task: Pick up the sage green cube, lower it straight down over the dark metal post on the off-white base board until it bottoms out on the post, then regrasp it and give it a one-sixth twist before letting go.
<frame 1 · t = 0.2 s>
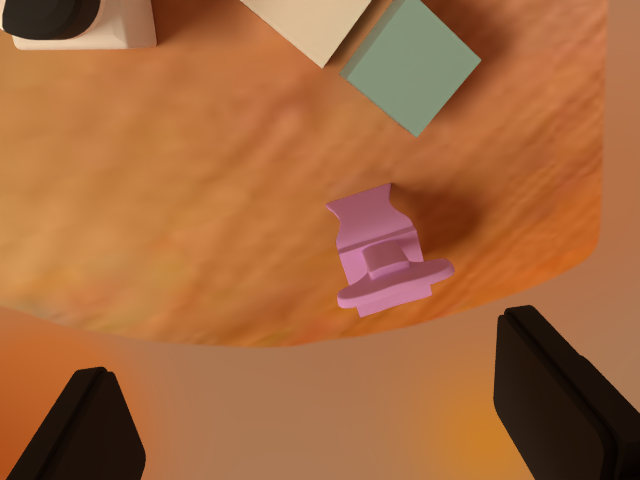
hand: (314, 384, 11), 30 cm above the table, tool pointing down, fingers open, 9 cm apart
toy chair: (369, 233, 43), on the table
sage green cube: (398, 65, 37), on the table
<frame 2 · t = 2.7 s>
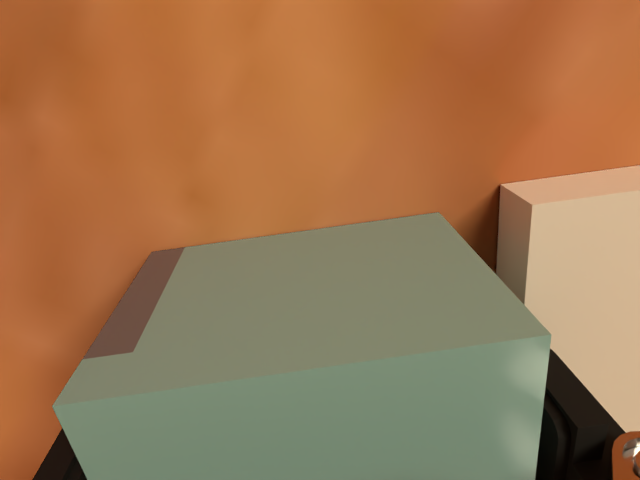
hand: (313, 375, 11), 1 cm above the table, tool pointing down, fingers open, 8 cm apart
sage green cube: (314, 348, 12), on the table
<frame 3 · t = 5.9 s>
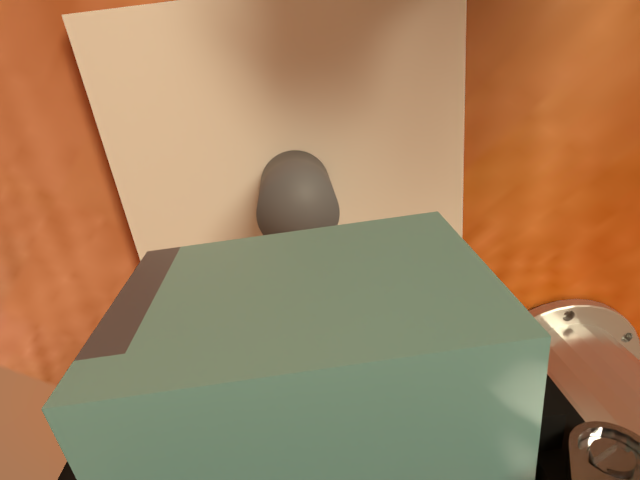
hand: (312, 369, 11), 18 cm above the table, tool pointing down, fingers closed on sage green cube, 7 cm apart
post block: (294, 177, 27), on the table
sage green cube: (311, 349, 12), point 17 cm above the table, touching gripper
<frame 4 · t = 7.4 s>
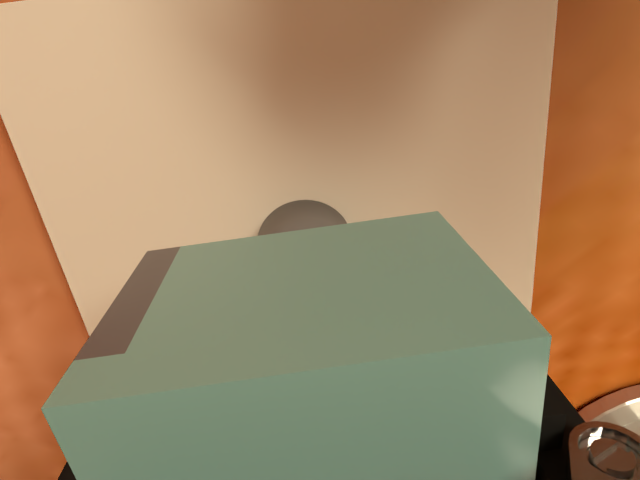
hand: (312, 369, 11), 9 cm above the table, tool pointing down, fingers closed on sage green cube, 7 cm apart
post block: (303, 231, 20), on the table
sage green cube: (311, 348, 12), point 9 cm above the table, touching gripper
when the fingers open (5 cm above the table, at t = 8.9 s): sage green cube drops 1 cm, resting on post block.
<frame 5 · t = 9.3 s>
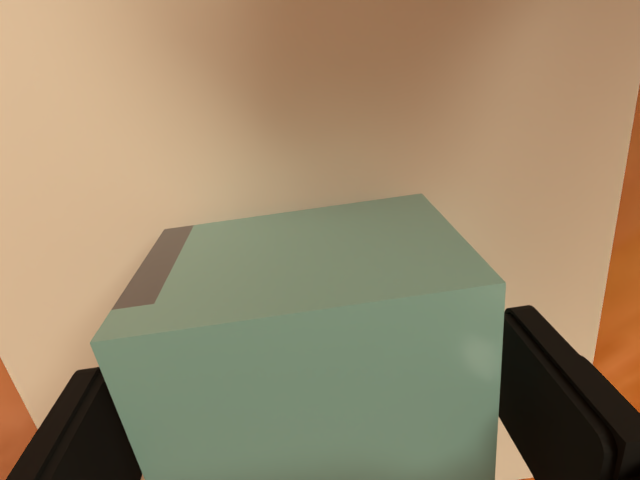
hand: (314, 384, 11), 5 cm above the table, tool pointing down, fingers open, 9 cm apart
post block: (304, 279, 16), on the table
sage green cube: (310, 319, 13), point 3 cm above the table, touching post block
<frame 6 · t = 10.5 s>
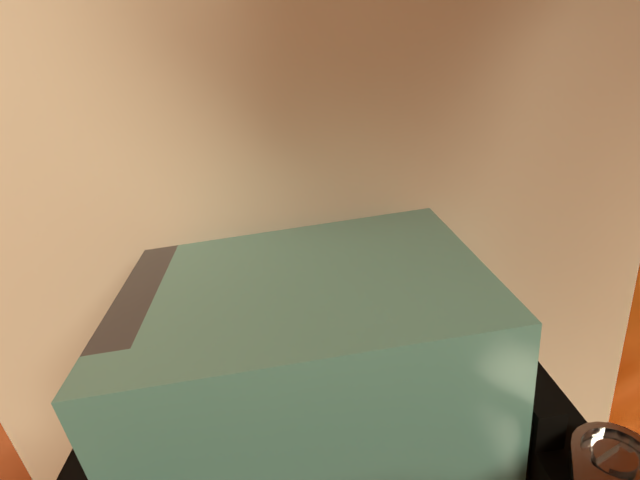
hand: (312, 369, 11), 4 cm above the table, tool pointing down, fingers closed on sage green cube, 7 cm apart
post block: (307, 296, 15), on the table
sage green cube: (307, 344, 12), point 3 cm above the table, touching gripper, post block
when the fingers open (4 cm above the table, at t = 12.5 s): sage green cube stays where it is, resting on post block.
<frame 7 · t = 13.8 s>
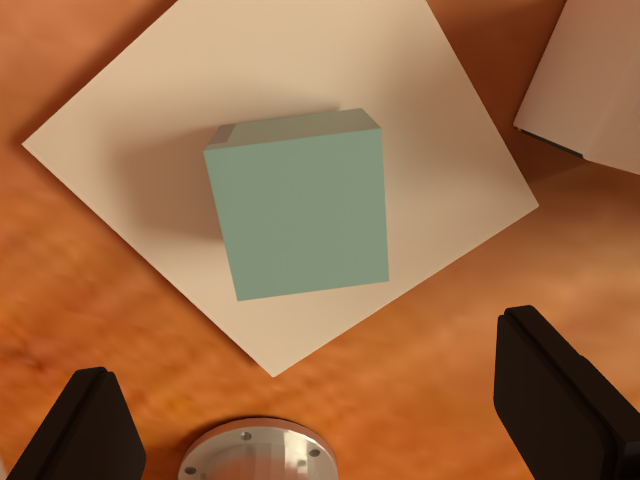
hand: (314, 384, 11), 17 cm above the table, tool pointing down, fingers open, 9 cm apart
medicine bottle: (591, 79, 25), on the table
post block: (298, 169, 26), on the table
sage green cube: (300, 184, 23), point 2 cm above the table, touching post block
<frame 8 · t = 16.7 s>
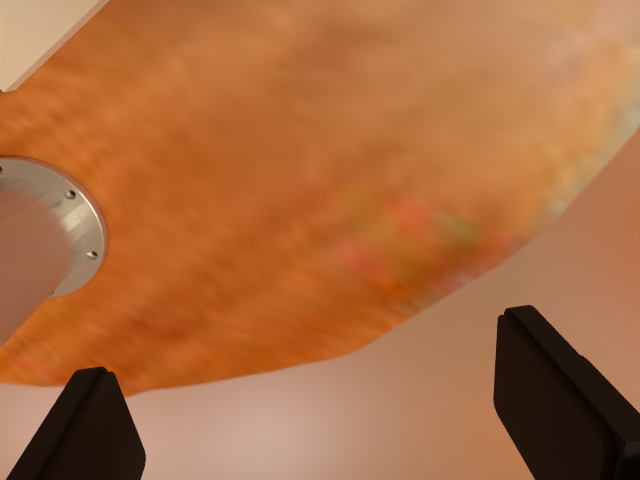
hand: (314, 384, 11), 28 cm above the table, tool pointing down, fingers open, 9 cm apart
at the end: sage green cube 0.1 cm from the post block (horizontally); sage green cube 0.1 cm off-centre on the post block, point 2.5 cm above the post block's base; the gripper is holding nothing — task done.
